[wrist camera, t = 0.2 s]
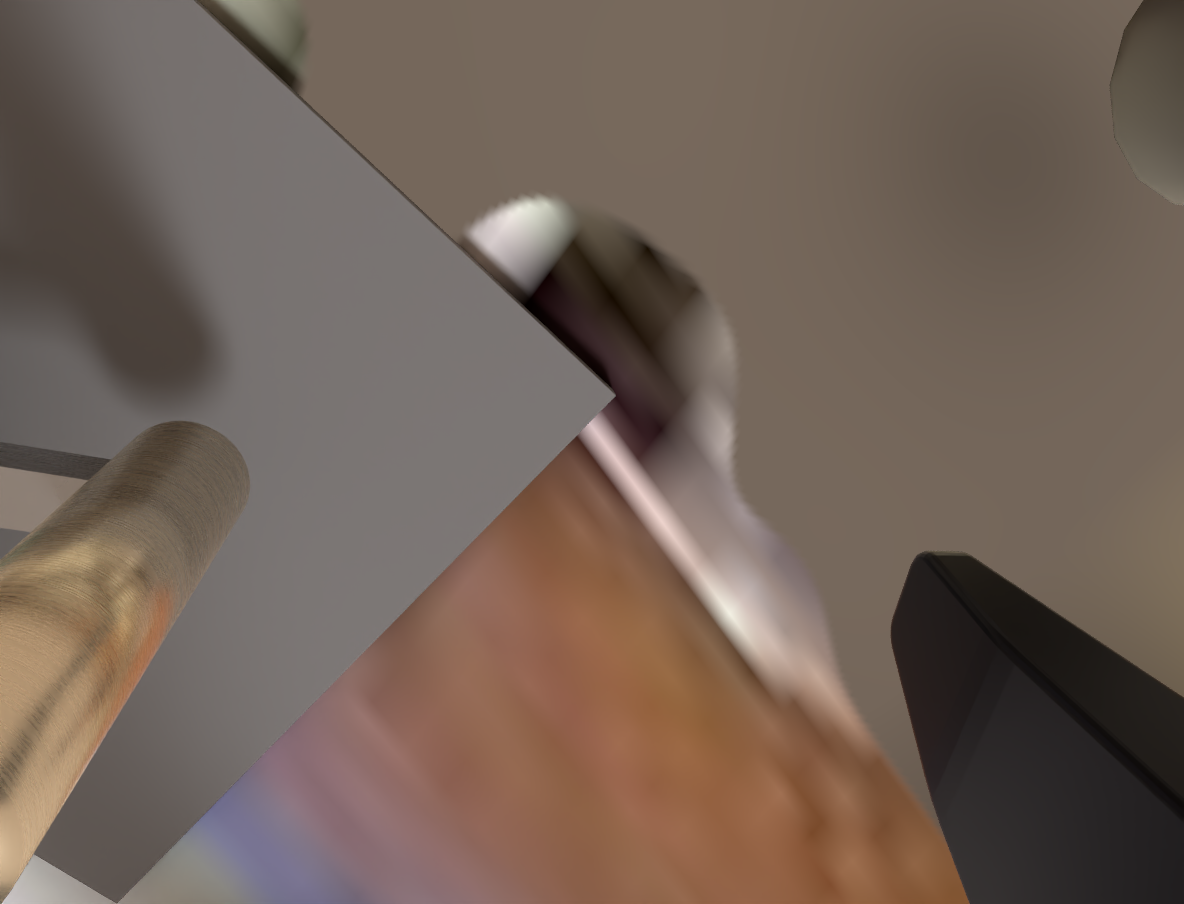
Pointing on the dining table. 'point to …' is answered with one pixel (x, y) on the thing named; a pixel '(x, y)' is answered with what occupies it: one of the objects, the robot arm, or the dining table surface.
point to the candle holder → (1152, 97)
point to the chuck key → (94, 599)
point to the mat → (246, 379)
